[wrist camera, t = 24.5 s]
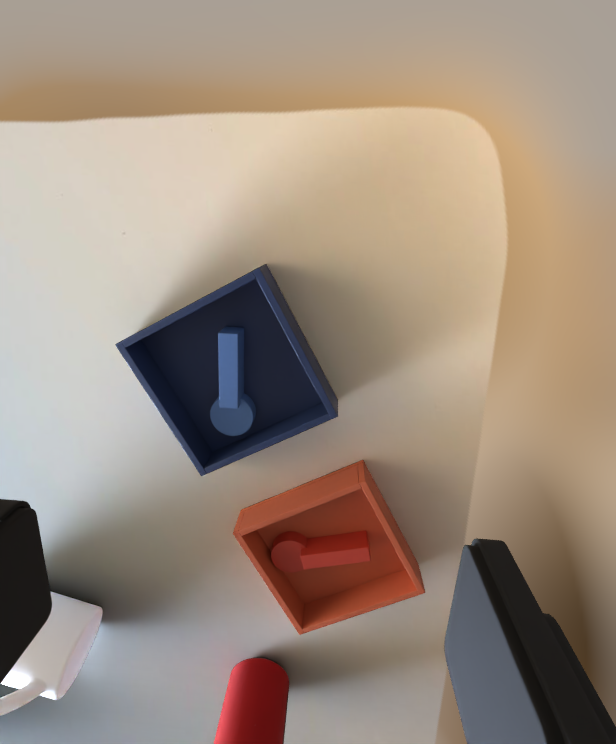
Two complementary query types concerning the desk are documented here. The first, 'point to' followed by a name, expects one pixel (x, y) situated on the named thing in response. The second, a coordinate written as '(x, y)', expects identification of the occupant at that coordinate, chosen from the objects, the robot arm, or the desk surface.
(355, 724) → the desk surface
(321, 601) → the red bin
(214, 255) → the desk surface
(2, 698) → the white handbag
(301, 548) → the red spoon
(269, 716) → the beverage can
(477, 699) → the robot arm
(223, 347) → the blue spoon
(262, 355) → the blue bin
